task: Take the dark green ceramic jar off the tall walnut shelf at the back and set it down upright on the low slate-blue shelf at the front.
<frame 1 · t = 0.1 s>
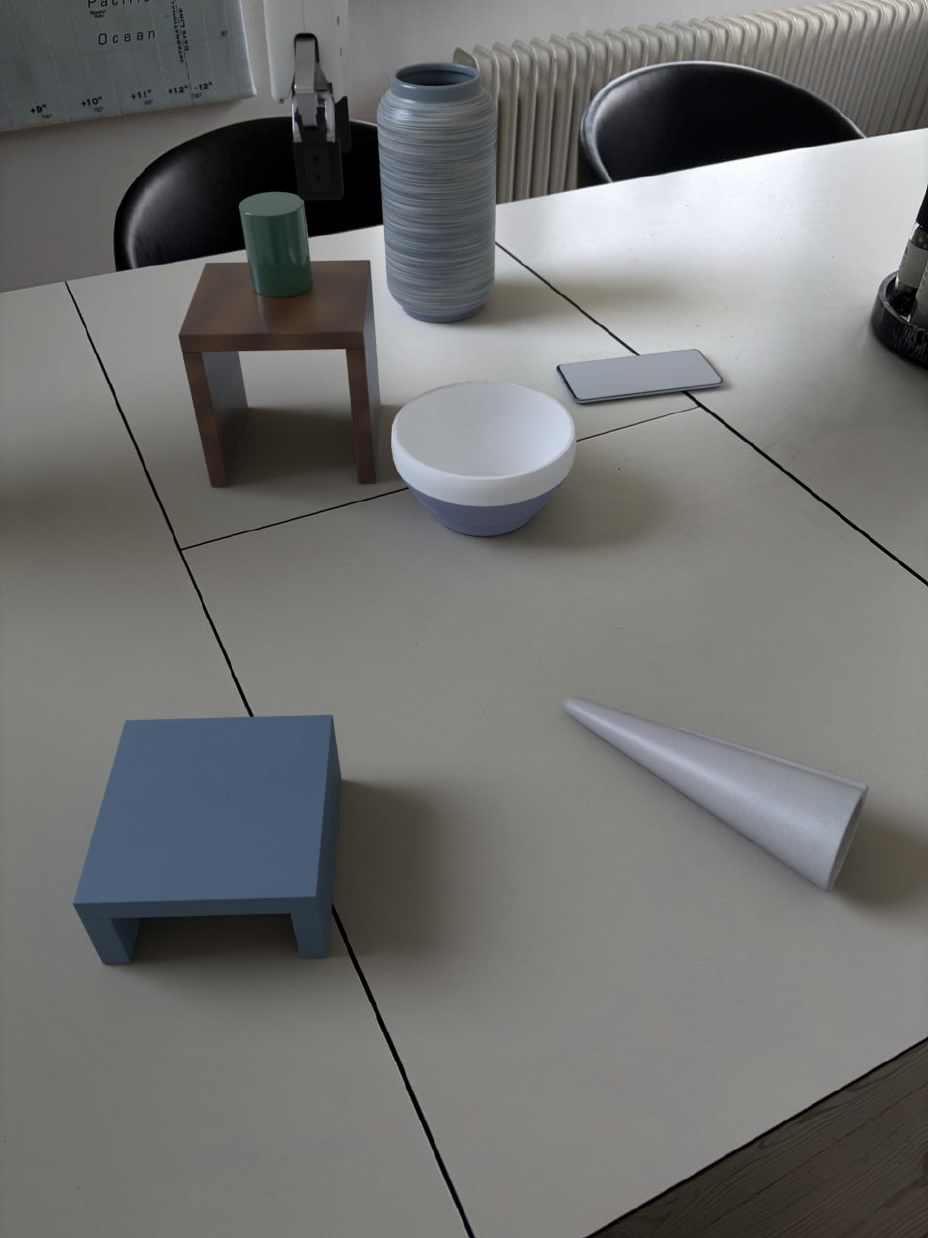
hand: (326, 174, 75), 23 cm above the table, tool pointing down, fingers open, 9 cm apart
smartphone: (638, 380, 98), on the table
jar: (282, 283, 82), point 14 cm above the table, touching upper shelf
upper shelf: (300, 443, 90), on the table
long tapered cone: (683, 797, 61), on the table
vase: (441, 306, 110), on the table
lower shelf: (231, 864, 58), on the table
bowl: (483, 507, 83), on the table
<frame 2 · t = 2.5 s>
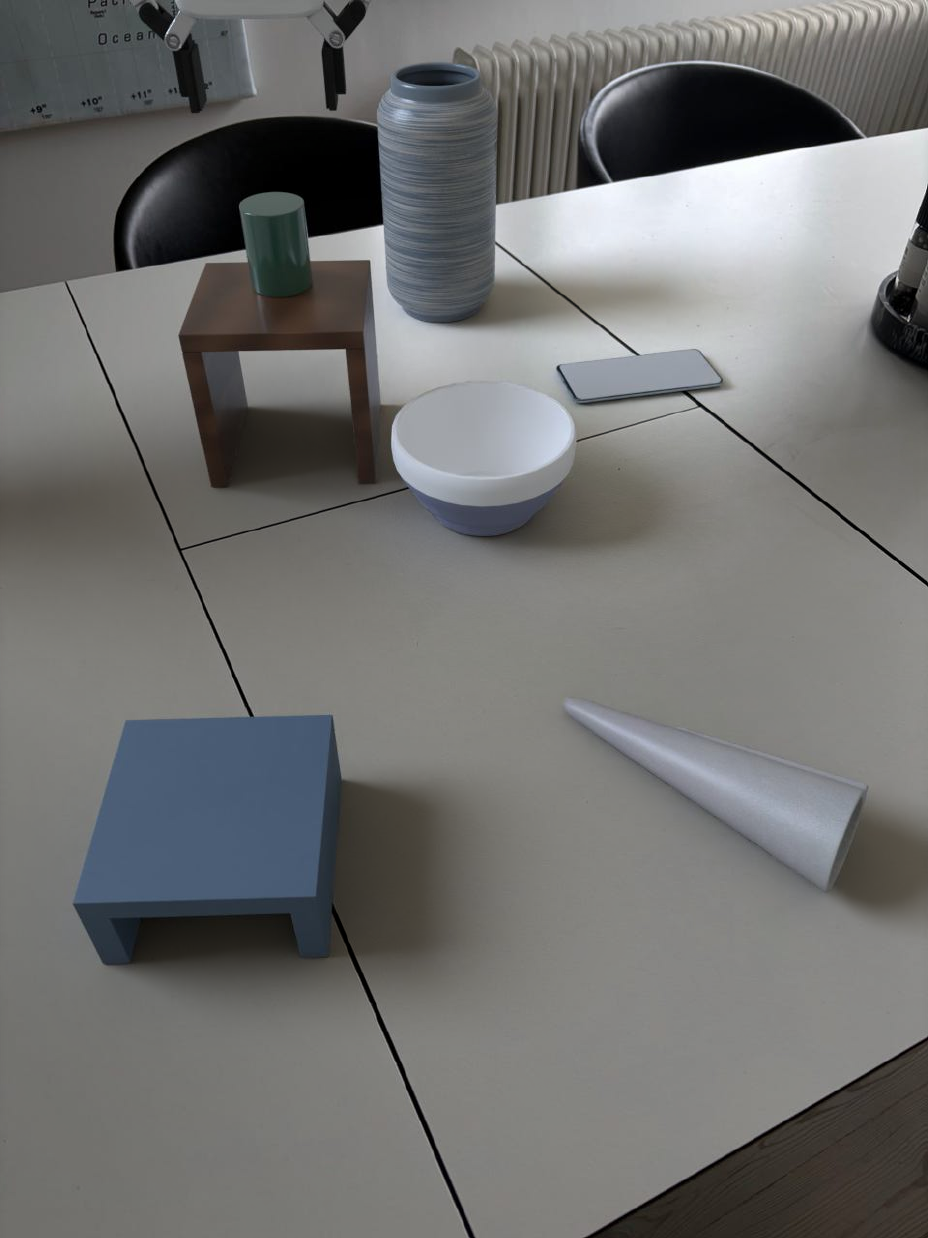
hand: (266, 106, 73), 27 cm above the table, tool pointing down, fingers open, 9 cm apart
nothing on the table moved.
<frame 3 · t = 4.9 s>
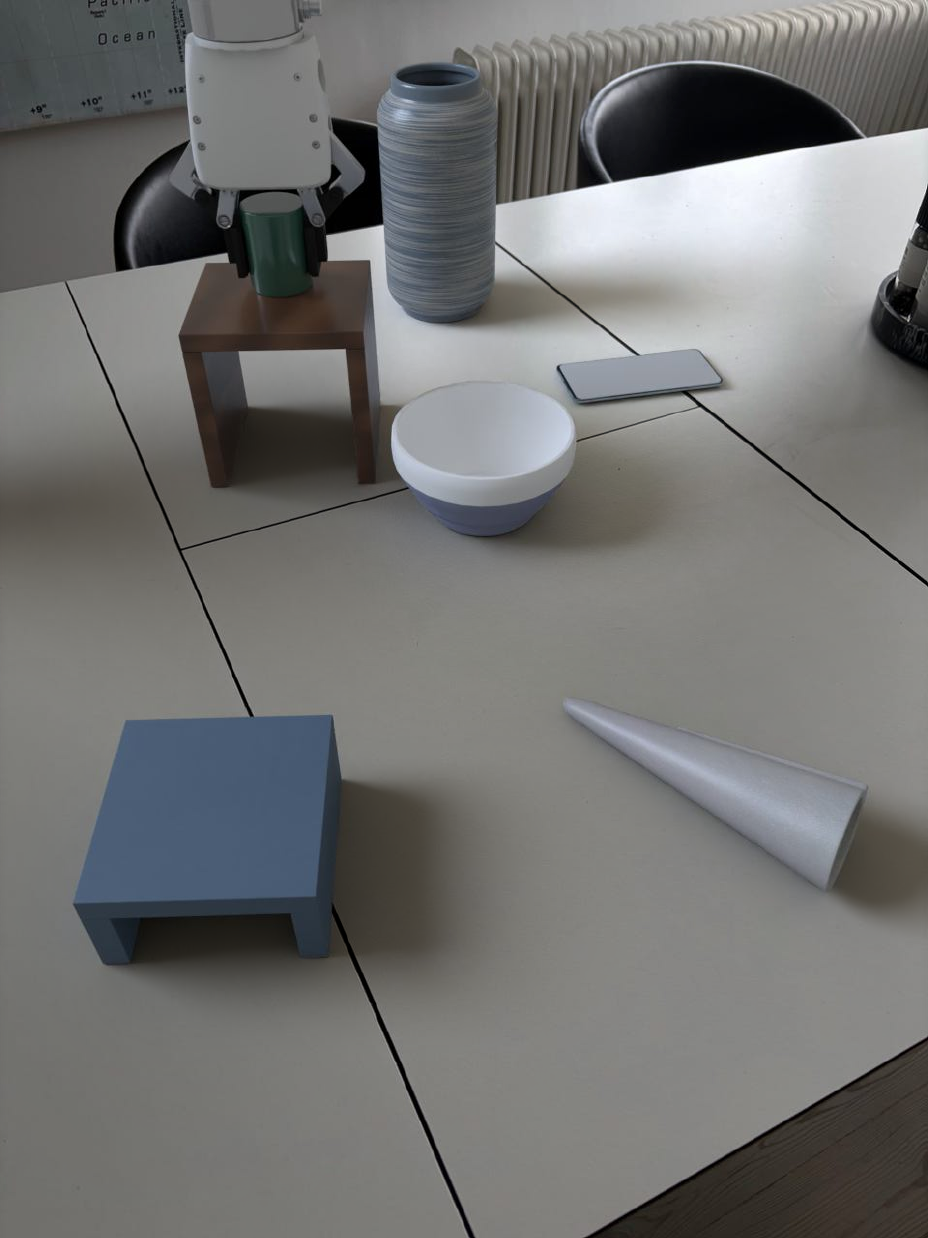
hand: (280, 268, 81), 15 cm above the table, tool pointing down, fingers closed on jar, 5 cm apart
jar: (282, 283, 82), point 14 cm above the table, touching gripper, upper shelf
everything else where it was.
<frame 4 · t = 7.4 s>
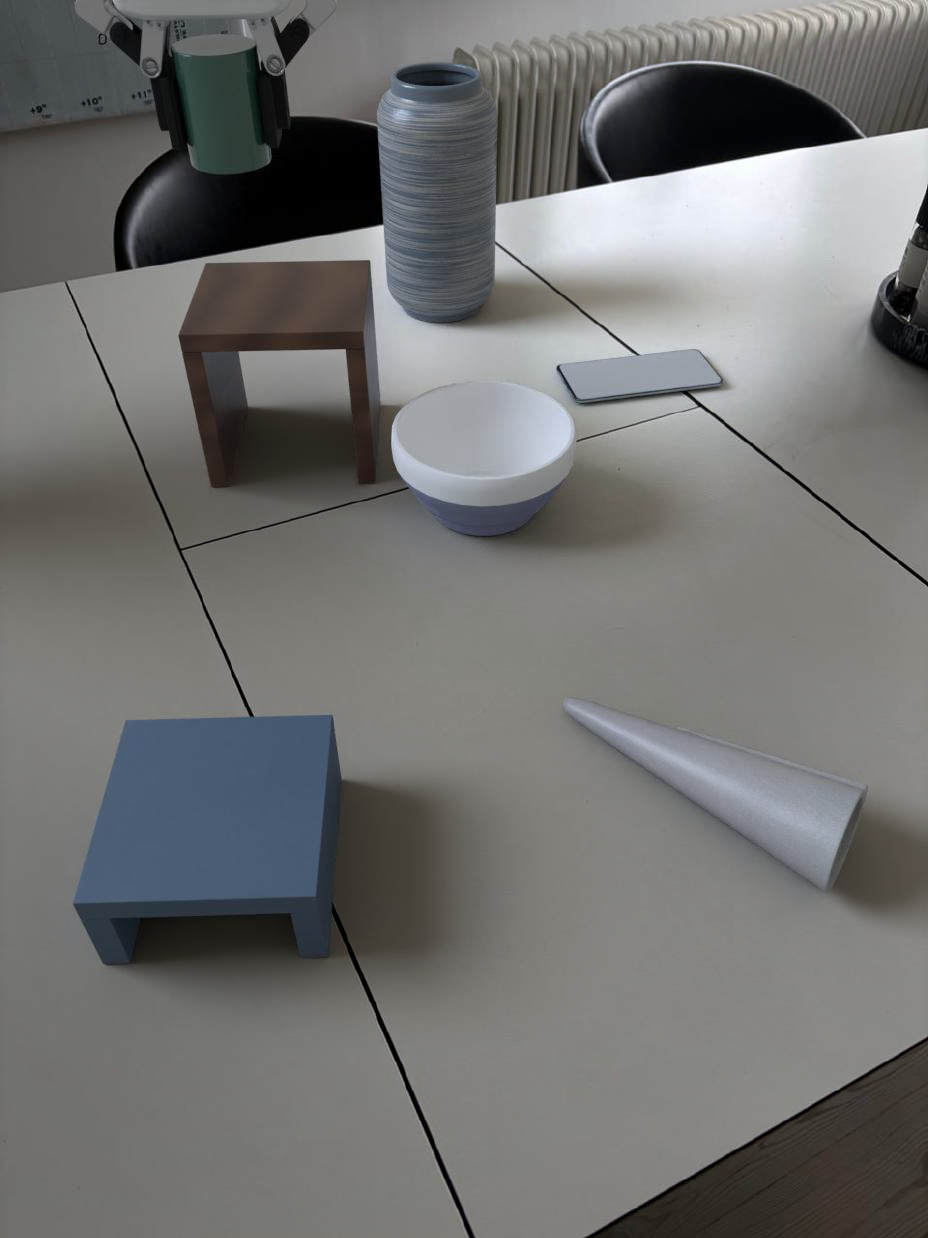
hand: (228, 138, 62), 29 cm above the table, tool pointing down, fingers closed on jar, 5 cm apart
jar: (231, 160, 63), point 28 cm above the table, touching gripper
everything else where it was.
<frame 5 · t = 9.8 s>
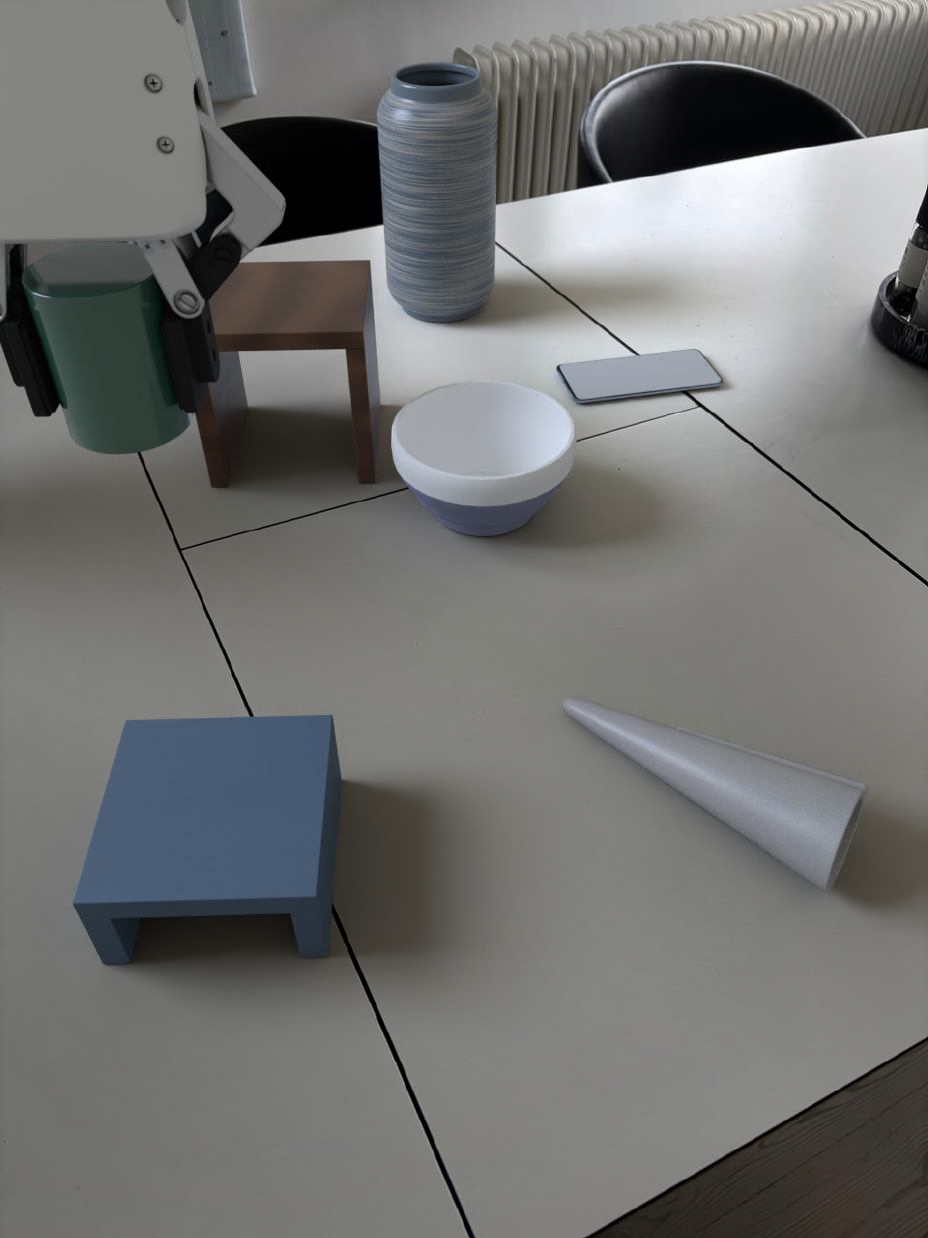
hand: (124, 393, 40), 29 cm above the table, tool pointing down, fingers closed on jar, 5 cm apart
jar: (132, 421, 41), point 28 cm above the table, touching gripper
everything else where it was.
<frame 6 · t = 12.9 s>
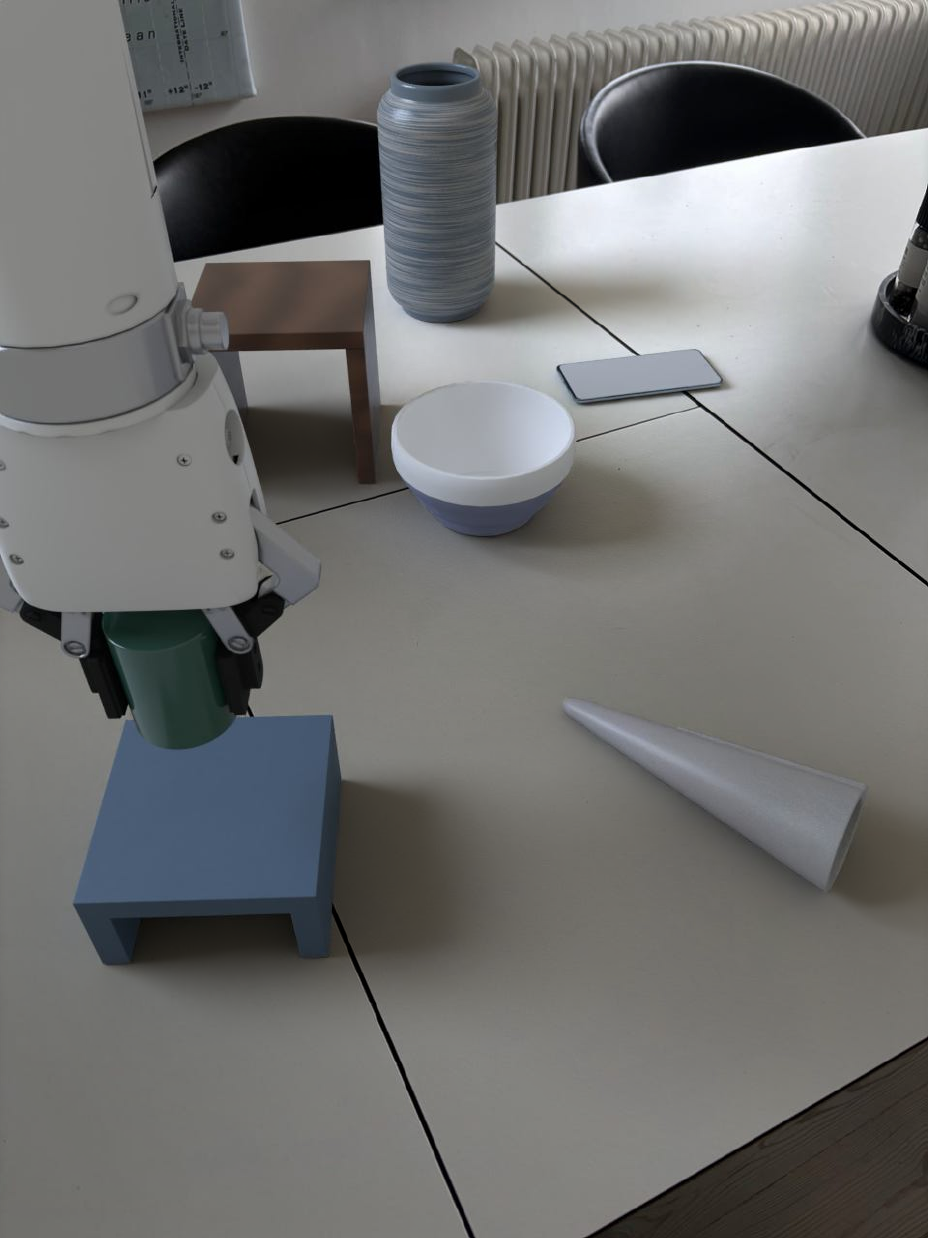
hand: (182, 692, 48), 15 cm above the table, tool pointing down, fingers closed on jar, 5 cm apart
jar: (188, 710, 49), point 13 cm above the table, touching gripper
everything else where it was.
when the fingers open (7 cm above the table, at t = 15.1 s): jar stays where it is, resting on lower shelf.
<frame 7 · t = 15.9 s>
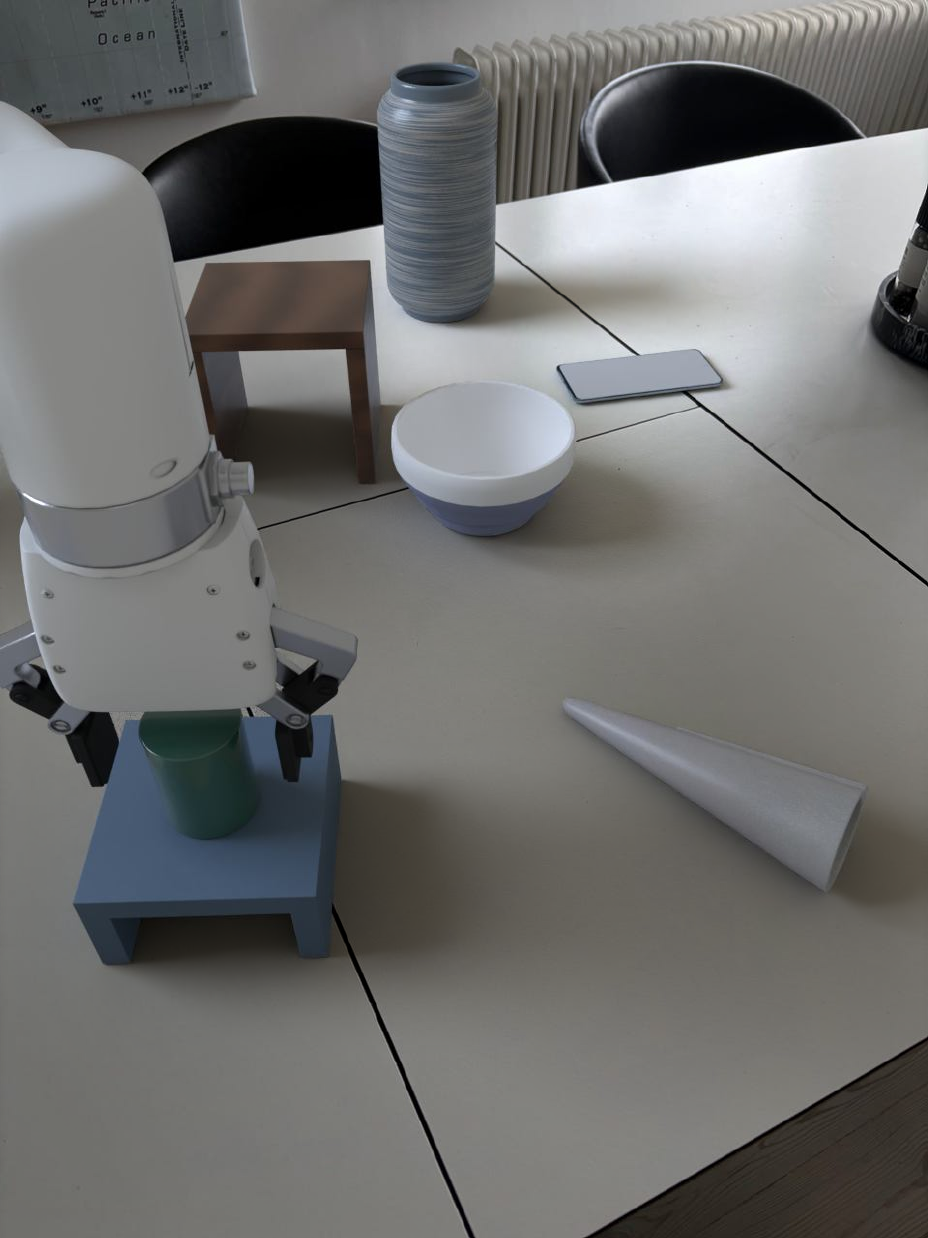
hand: (200, 762, 52), 9 cm above the table, tool pointing down, fingers open, 9 cm apart
jar: (213, 801, 54), point 6 cm above the table, touching lower shelf
everything else where it was.
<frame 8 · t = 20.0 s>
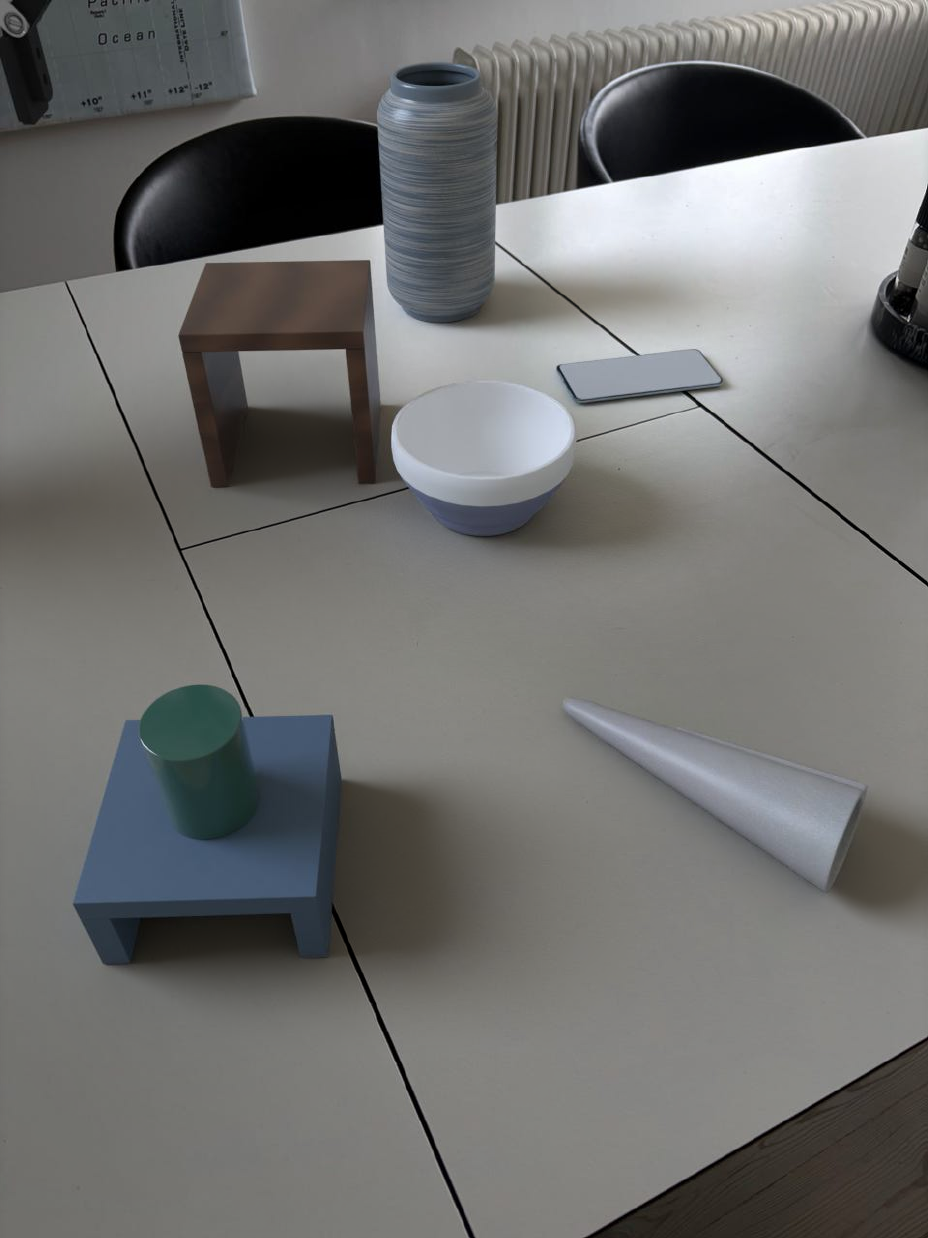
nothing on the table moved.
at the end: jar inside the target area on the lower shelf (0.0 cm from its centre), point 6.0 cm above the lower shelf's base; jar tilted 0°; the gripper is holding nothing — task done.
